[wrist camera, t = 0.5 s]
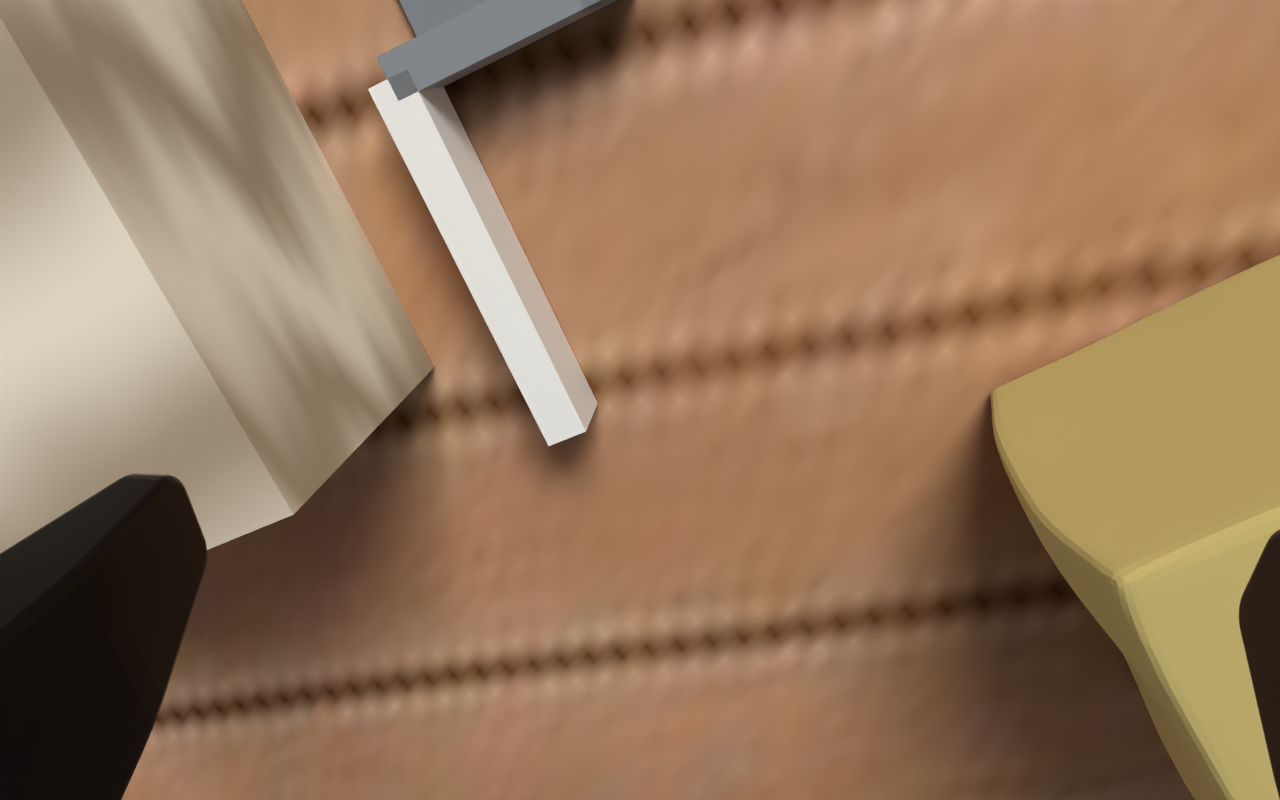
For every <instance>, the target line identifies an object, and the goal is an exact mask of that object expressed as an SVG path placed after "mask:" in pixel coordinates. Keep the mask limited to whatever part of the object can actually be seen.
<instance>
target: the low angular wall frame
mask: <svg viewBox="0 0 1280 800" xmlns="http://www.w3.org/2000/svg"><path fill="white" fill-rule="evenodd" d="M399 1H400V3H401V5H402V7H403V10H404V12H405V14H406V16H407V18H408V20H409V22H410V24H411V26H412V28H413V30H414V32H415V34H416V36H417V37H415V38H413V39H411V40H409V41H407V42H405V43H403V44H401V45H399V46H397V47H395V48H393V49H391V50H389V51H388V52H386V53H384V54H382V55H380V56H378V57H377V59H378V61H379V63H380V65H381V67H382V69H383V71H384V73H385V75H386V77H387V80H385V81H383V82H381V83H379V84H377V85H375V86H373V87H371V88H369V89H368V90H369V92H370V94H371V96H372V98H373V100H374V102H375V104H376V106H377V108H378V110H379V112H380V114H381V116H382V118H383V120H384V122H385V124H386V126H387V128H388V130H389V132H390V134H391V136H392V138H393V140H394V142H395V144H396V146H397V148H398V150H399V152H400V154H401V155H402V157H403V159H404V161H405V163H406V165H407V167H408V169H409V171H410V173H411V175H412V177H413V179H414V181H415V183H416V185H417V187H418V189H419V191H420V193H421V195H422V197H423V199H424V201H425V203H426V205H427V207H428V209H429V211H430V213H431V215H432V217H433V219H434V221H435V223H436V225H437V227H438V229H439V231H440V233H441V235H442V237H443V239H444V240H445V242H446V244H447V246H448V248H449V250H450V252H451V254H452V256H453V258H454V260H455V262H456V264H457V266H458V268H459V270H460V272H461V274H462V276H463V278H464V280H465V282H466V284H467V286H468V288H469V290H470V292H471V294H472V296H473V298H474V300H475V302H476V304H477V306H478V308H479V310H480V312H481V314H482V316H483V318H484V320H485V322H486V323H487V325H488V327H489V329H490V331H491V333H492V335H493V337H494V339H495V341H496V343H497V345H498V347H499V349H500V351H501V353H502V355H503V357H504V359H505V361H506V363H507V365H508V367H509V369H510V371H511V373H512V375H513V377H514V379H515V381H516V383H517V385H518V387H519V389H520V391H521V393H522V395H523V397H524V399H525V401H526V403H527V405H528V407H529V408H530V410H531V412H532V414H533V416H534V418H535V420H536V422H537V424H538V426H539V428H540V430H541V432H542V434H543V436H544V438H545V440H546V442H547V444H548V446H551V445H553V444H556V443H558V442H561V441H563V440H566V439H568V438H571V437H573V436H576V435H578V434H581V433H583V432H586V430H587V428H588V426H589V423H590V421H591V418H592V416H593V414H594V411H595V409H596V407H597V404H598V403H597V401H596V399H595V397H594V395H593V393H592V391H591V389H590V387H589V385H588V383H587V381H586V378H585V376H584V374H583V372H582V370H581V368H580V366H579V364H578V362H577V360H576V358H575V356H574V354H573V352H572V350H571V348H570V346H569V343H568V341H567V339H566V337H565V335H564V333H563V331H562V329H561V327H560V325H559V323H558V321H557V319H556V317H555V315H554V313H553V311H552V309H551V306H550V304H549V302H548V300H547V298H546V296H545V294H544V292H543V290H542V288H541V286H540V284H539V282H538V280H537V278H536V276H535V274H534V272H533V269H532V267H531V265H530V263H529V261H528V259H527V257H526V255H525V253H524V251H523V249H522V247H521V245H520V243H519V241H518V239H517V237H516V234H515V232H514V230H513V228H512V226H511V224H510V222H509V220H508V218H507V216H506V214H505V212H504V210H503V208H502V206H501V204H500V202H499V200H498V197H497V195H496V193H495V191H494V189H493V187H492V185H491V183H490V181H489V179H488V177H487V175H486V173H485V171H484V169H483V167H482V165H481V163H480V160H479V158H478V156H477V154H476V152H475V150H474V148H473V146H472V144H471V142H470V140H469V138H468V136H467V134H466V132H465V130H464V128H463V125H462V123H461V121H460V119H459V117H458V115H457V113H456V111H455V109H454V107H453V105H452V103H451V101H450V99H449V97H448V95H447V93H446V91H445V88H444V86H446V85H448V84H450V83H452V82H454V81H456V80H458V79H460V78H462V77H464V76H466V75H468V74H470V73H472V72H474V71H476V70H478V69H480V68H483V67H485V66H487V65H489V64H491V63H493V62H495V61H497V60H499V59H501V58H503V57H505V56H507V55H509V54H511V53H513V52H515V51H517V50H519V49H521V48H523V47H525V46H527V45H529V44H531V43H533V42H535V41H537V40H539V39H541V38H543V37H545V36H547V35H549V34H551V33H553V32H555V31H557V30H559V29H561V28H563V27H565V26H567V25H569V24H571V23H573V22H575V21H577V20H579V19H581V18H583V17H585V16H587V15H589V14H591V13H593V12H595V11H597V10H599V9H601V8H603V7H605V6H607V5H609V4H611V3H613V2H615V1H618V0H399Z"/></svg>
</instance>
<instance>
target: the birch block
mask: <svg viewBox="0 0 1280 800" xmlns="http://www.w3.org/2000/svg"><path fill="white" fill-rule="evenodd" d="M433 368H434V365H433V363H432V361H431V359H430V357H429V355H428V353H427V351H426V350H425V348H424V346H423V344H422V342H421V340H420V338H419V336H418V334H417V332H416V331H415V329H414V327H413V325H412V323H411V321H410V319H409V317H408V315H407V314H406V312H405V310H404V308H403V306H402V304H401V302H400V300H399V298H398V296H397V295H396V293H395V291H394V289H393V287H392V285H391V283H390V281H389V279H388V277H387V276H386V274H385V272H384V270H383V268H382V266H381V264H380V262H379V260H378V259H377V257H376V255H375V253H374V251H373V249H372V247H371V245H370V243H369V241H368V240H367V238H366V236H365V234H364V232H363V230H362V228H361V226H360V224H359V222H358V221H357V219H356V217H355V215H354V213H353V211H352V209H351V207H350V205H349V204H348V202H347V200H346V198H345V196H344V194H343V192H342V190H341V188H340V186H339V185H338V183H337V181H336V179H335V177H334V175H333V173H332V171H331V169H330V167H329V166H328V164H327V162H326V160H325V158H324V156H323V154H322V152H321V150H320V149H319V147H318V145H317V143H316V141H315V139H314V137H313V135H312V133H311V131H310V130H309V128H308V126H307V124H306V122H305V120H304V118H303V116H302V114H301V112H300V111H299V109H298V107H297V105H296V103H295V101H294V99H293V97H292V95H291V93H290V92H289V90H288V88H287V86H286V84H285V82H284V80H283V78H282V76H281V75H280V73H279V71H278V69H277V67H276V65H275V63H274V61H273V59H272V57H271V56H270V54H269V52H268V50H267V48H266V46H265V44H264V42H263V40H262V38H261V37H260V35H259V33H258V31H257V29H256V27H255V25H254V23H253V21H252V20H251V18H250V16H249V14H248V12H247V10H246V8H245V6H244V4H243V2H242V1H241V0H0V553H2V552H3V551H5V550H6V549H8V548H10V547H11V546H13V545H14V544H16V543H18V542H19V541H21V540H22V539H24V538H25V537H27V536H29V535H30V534H32V533H33V532H35V531H37V530H38V529H40V528H41V527H43V526H45V525H46V524H48V523H49V522H51V521H53V520H54V519H56V518H57V517H59V516H61V515H62V514H64V513H65V512H67V511H69V510H70V509H72V508H73V507H75V506H77V505H78V504H80V503H81V502H83V501H85V500H86V499H88V498H89V497H91V496H93V495H94V494H96V493H97V492H99V491H101V490H102V489H104V488H105V487H107V486H109V485H110V484H112V483H113V482H115V481H117V480H118V479H120V478H122V477H124V476H126V475H129V474H135V473H142V474H164V475H171V476H174V477H177V478H178V479H179V480H180V481H181V482H182V483H183V485H184V487H185V489H186V491H187V494H188V496H189V499H190V502H191V504H192V507H193V509H194V512H195V514H196V517H197V520H198V522H199V525H200V527H201V530H202V533H203V535H204V538H205V541H206V546H207V550H208V549H211V548H213V547H216V546H218V545H221V544H223V543H225V542H228V541H230V540H233V539H235V538H238V537H240V536H243V535H245V534H247V533H250V532H252V531H255V530H257V529H260V528H262V527H265V526H267V525H270V524H272V523H274V522H277V521H279V520H282V519H284V518H287V517H289V516H292V515H294V514H295V513H296V512H297V511H298V510H299V508H300V507H301V506H302V505H303V504H304V503H305V502H306V501H307V500H308V499H309V498H310V497H311V496H312V495H313V494H314V493H315V492H316V491H317V490H318V489H319V488H320V486H321V485H322V484H323V483H324V482H325V481H326V480H327V479H328V478H329V477H330V476H331V475H332V474H333V473H334V472H335V471H336V470H337V469H338V468H339V467H340V466H341V465H342V463H343V462H344V461H345V460H346V459H347V458H348V457H349V456H350V455H351V454H352V453H353V452H354V451H355V450H356V449H357V448H358V447H359V446H360V445H361V444H362V443H363V441H364V440H365V439H366V438H367V437H368V436H369V435H370V434H371V433H372V432H373V431H374V430H375V429H376V428H377V427H378V426H379V425H380V424H381V423H382V422H383V421H384V420H385V418H386V417H387V416H388V415H389V414H390V413H391V412H392V411H393V410H394V409H395V408H396V407H397V406H398V405H399V404H400V403H401V402H402V401H403V400H404V399H405V398H406V396H407V395H408V394H409V393H410V392H411V391H412V390H413V389H414V388H415V387H416V386H417V385H418V384H419V383H420V382H421V381H422V380H423V379H424V378H425V377H426V376H427V374H428V373H429V372H430V371H431V370H432V369H433Z"/></svg>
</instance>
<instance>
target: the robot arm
mask: <svg viewBox="0 0 1280 800" xmlns="http://www.w3.org/2000/svg"><path fill="white" fill-rule="evenodd" d="M206 563H207V546H206V541H205V538H204V535H203V533H202V530H201V527H200V525H199V522H198V520H197V517H196V514H195V512H194V509H193V507H192V504H191V502H190V499H189V496H188V494H187V491H186V489H185V487H184V485H183V483H182V482H181V481H180V480H179V479H178V478H177V477H174V476H171V475H164V474H142V473H135V474H129V475H126V476H124V477H122V478H120V479H118V480H117V481H115V482H113V483H112V484H110V485H109V486H107V487H105V488H104V489H102V490H101V491H99V492H97V493H96V494H94V495H93V496H91V497H89V498H88V499H86V500H85V501H83V502H81V503H80V504H78V505H77V506H75V507H73V508H72V509H70V510H69V511H67V512H65V513H64V514H62V515H61V516H59V517H57V518H56V519H54V520H53V521H51V522H49V523H48V524H46V525H45V526H43V527H41V528H40V529H38V530H37V531H35V532H33V533H32V534H30V535H29V536H27V537H25V538H24V539H22V540H21V541H19V542H18V543H16V544H14V545H13V546H11V547H10V548H8V549H6V550H5V551H3V552H2V553H0V800H121V799H122V797H123V795H124V792H125V790H126V788H127V786H128V783H129V781H130V779H131V777H132V775H133V772H134V770H135V768H136V766H137V763H138V761H139V759H140V757H141V755H142V752H143V750H144V748H145V745H146V743H147V741H148V738H149V736H150V733H151V731H152V729H153V726H154V724H155V721H156V718H157V715H158V713H159V710H160V707H161V704H162V702H163V699H164V696H165V693H166V689H167V686H168V683H169V680H170V677H171V674H172V671H173V668H174V665H175V662H176V659H177V655H178V652H179V649H180V646H181V643H182V640H183V637H184V634H185V631H186V628H187V625H188V621H189V618H190V615H191V612H192V609H193V606H194V603H195V600H196V597H197V594H198V591H199V587H200V584H201V581H202V578H203V575H204V572H205V568H206ZM1239 625H1240V631H1241V635H1242V640H1243V644H1244V649H1245V653H1246V657H1247V662H1248V666H1249V671H1250V675H1251V679H1252V684H1253V688H1254V693H1255V697H1256V701H1257V706H1258V710H1259V715H1260V719H1261V723H1262V728H1263V732H1264V737H1265V741H1266V745H1267V750H1268V754H1269V759H1270V763H1271V767H1272V772H1273V776H1274V780H1275V784H1276V787H1277V791H1278V795H1279V799H1280V529H1279V530H1278V531H1276V532H1275V533H1274V534H1272V535H1271V536H1270V538H1269V540H1268V541H1267V543H1266V545H1265V547H1264V550H1263V552H1262V554H1261V556H1260V558H1259V560H1258V562H1257V564H1256V567H1255V569H1254V571H1253V573H1252V575H1251V577H1250V579H1249V582H1248V584H1247V586H1246V588H1245V590H1244V592H1243V594H1242V597H1241V601H1240V605H1239Z"/></svg>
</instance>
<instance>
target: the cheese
mask: <svg viewBox="0 0 1280 800" xmlns="http://www.w3.org/2000/svg"><path fill="white" fill-rule="evenodd" d="M991 408H992V424H993V432H994V438H995V442H996V447H997V449H998V452H999V455H1000V458H1001V461H1002V463H1003V466H1004V468H1005V471H1006V473H1007V475H1008V478H1009V480H1010V482H1011V484H1012V487H1013V489H1014V491H1015V493H1016V495H1017V497H1018V499H1019V501H1020V503H1021V505H1022V507H1023V509H1024V511H1025V513H1026V515H1027V517H1028V519H1029V521H1030V523H1031V525H1032V526H1033V528H1034V530H1035V532H1036V534H1037V535H1038V537H1039V539H1040V541H1041V543H1042V544H1043V546H1044V547H1045V549H1046V551H1047V552H1048V554H1049V555H1050V557H1051V559H1052V560H1053V562H1054V563H1055V565H1056V567H1057V568H1058V570H1059V571H1060V573H1061V574H1062V575H1063V577H1064V578H1065V580H1066V581H1067V582H1068V584H1069V585H1070V586H1071V588H1072V589H1073V591H1074V592H1075V593H1076V595H1077V596H1078V598H1079V599H1080V600H1081V601H1082V603H1083V604H1084V605H1085V607H1086V608H1087V609H1088V610H1089V612H1090V613H1091V614H1092V616H1093V617H1094V618H1095V619H1096V621H1097V622H1098V623H1099V624H1100V626H1101V627H1102V628H1103V629H1104V631H1105V632H1106V633H1107V634H1108V635H1109V637H1110V638H1111V639H1112V640H1113V642H1114V643H1115V644H1116V645H1117V647H1118V648H1119V649H1120V650H1121V652H1122V653H1123V655H1124V657H1125V659H1126V661H1127V664H1128V666H1129V668H1130V670H1131V672H1132V675H1133V677H1134V679H1135V681H1136V683H1137V686H1138V688H1139V690H1140V693H1141V695H1142V697H1143V700H1144V702H1145V704H1146V707H1147V709H1148V711H1149V714H1150V716H1151V718H1152V721H1153V723H1154V725H1155V728H1156V730H1157V732H1158V734H1159V736H1160V738H1161V740H1162V742H1163V744H1164V746H1165V748H1166V750H1167V752H1168V754H1169V756H1170V758H1171V759H1172V761H1173V763H1174V765H1175V767H1176V769H1177V770H1178V772H1179V774H1180V776H1181V777H1182V779H1183V781H1184V783H1185V784H1186V786H1187V788H1188V789H1189V791H1190V793H1191V794H1192V796H1193V798H1194V799H1195V800H1280V799H1279V795H1278V791H1277V787H1276V784H1275V780H1274V776H1273V772H1272V767H1271V763H1270V759H1269V754H1268V750H1267V745H1266V741H1265V737H1264V732H1263V728H1262V723H1261V719H1260V715H1259V710H1258V706H1257V701H1256V697H1255V693H1254V688H1253V684H1252V679H1251V675H1250V671H1249V666H1248V662H1247V657H1246V653H1245V649H1244V644H1243V640H1242V635H1241V631H1240V625H1239V605H1240V601H1241V597H1242V594H1243V592H1244V590H1245V588H1246V586H1247V584H1248V582H1249V579H1250V577H1251V575H1252V573H1253V571H1254V569H1255V567H1256V564H1257V562H1258V560H1259V558H1260V556H1261V554H1262V552H1263V550H1264V547H1265V545H1266V543H1267V541H1268V540H1269V538H1270V536H1271V535H1272V534H1274V533H1275V532H1276V531H1278V530H1279V529H1280V255H1278V256H1276V257H1273V258H1271V259H1269V260H1267V261H1264V262H1262V263H1260V264H1258V265H1256V266H1253V267H1251V268H1249V269H1247V270H1245V271H1243V272H1240V273H1238V274H1236V275H1234V276H1232V277H1230V278H1227V279H1225V280H1223V281H1221V282H1219V283H1217V284H1214V285H1212V286H1210V287H1208V288H1206V289H1204V290H1202V291H1199V292H1197V293H1195V294H1193V295H1191V296H1189V297H1187V298H1185V299H1183V300H1181V301H1179V302H1177V303H1175V304H1173V305H1171V306H1169V307H1166V308H1164V309H1162V310H1160V311H1158V312H1156V313H1154V314H1152V315H1150V316H1148V317H1146V318H1144V319H1142V320H1140V321H1138V322H1136V323H1133V324H1131V325H1129V326H1127V327H1125V328H1123V329H1121V330H1119V331H1117V332H1115V333H1113V334H1111V335H1109V336H1107V337H1105V338H1103V339H1101V340H1099V341H1097V342H1095V343H1093V344H1091V345H1089V346H1087V347H1085V348H1083V349H1081V350H1079V351H1077V352H1074V353H1072V354H1070V355H1068V356H1066V357H1064V358H1062V359H1059V360H1057V361H1055V362H1053V363H1050V364H1048V365H1046V366H1044V367H1041V368H1039V369H1037V370H1035V371H1033V372H1030V373H1028V374H1026V375H1024V376H1021V377H1019V378H1017V379H1015V380H1013V381H1010V382H1008V383H1006V384H1004V385H1001V386H999V387H997V388H995V389H993V391H992V392H991Z"/></svg>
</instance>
